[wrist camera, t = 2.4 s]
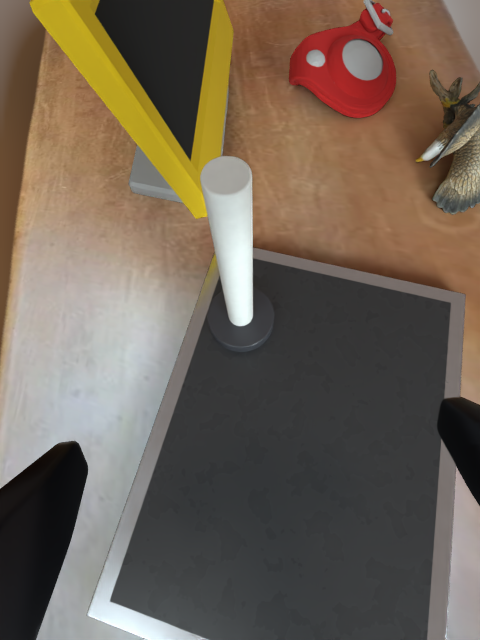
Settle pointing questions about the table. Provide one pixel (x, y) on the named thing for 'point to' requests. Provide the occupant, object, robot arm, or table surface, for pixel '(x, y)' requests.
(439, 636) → the tablet
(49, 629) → the table surface
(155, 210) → the table surface
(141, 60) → the toy computer monitor
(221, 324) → the white peg on base
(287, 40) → the table surface
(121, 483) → the table surface
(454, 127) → the eagle figurine
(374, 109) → the tracker holder
